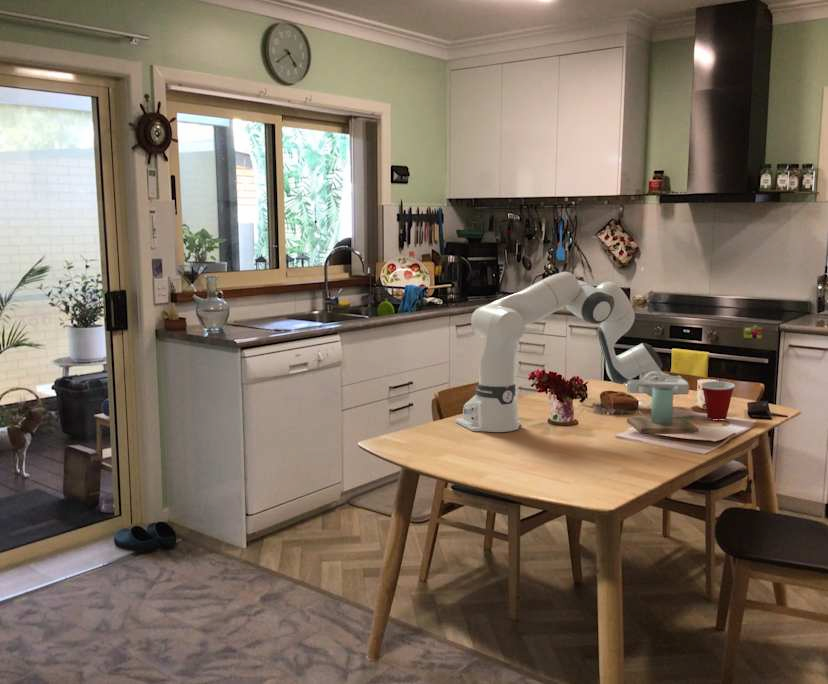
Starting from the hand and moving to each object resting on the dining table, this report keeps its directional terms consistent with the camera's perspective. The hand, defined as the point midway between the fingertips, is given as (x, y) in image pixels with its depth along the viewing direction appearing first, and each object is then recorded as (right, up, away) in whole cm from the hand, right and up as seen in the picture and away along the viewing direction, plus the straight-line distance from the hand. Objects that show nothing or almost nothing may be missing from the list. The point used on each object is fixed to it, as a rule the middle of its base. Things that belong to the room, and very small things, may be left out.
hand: (659, 391), depth 267 cm
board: (-2, -11, -9) cm, 14 cm away
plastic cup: (+20, -10, +3) cm, 22 cm away
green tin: (-2, -9, -9) cm, 13 cm away
